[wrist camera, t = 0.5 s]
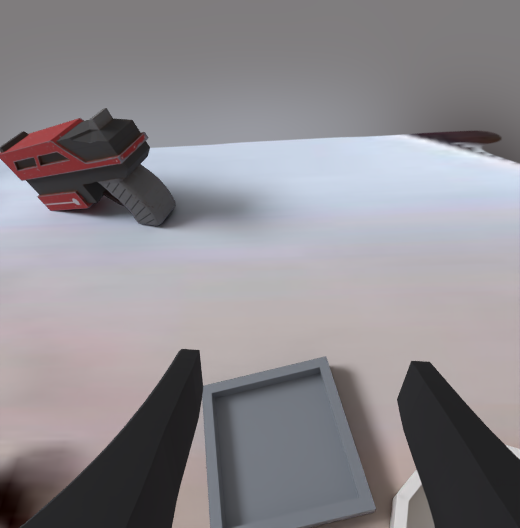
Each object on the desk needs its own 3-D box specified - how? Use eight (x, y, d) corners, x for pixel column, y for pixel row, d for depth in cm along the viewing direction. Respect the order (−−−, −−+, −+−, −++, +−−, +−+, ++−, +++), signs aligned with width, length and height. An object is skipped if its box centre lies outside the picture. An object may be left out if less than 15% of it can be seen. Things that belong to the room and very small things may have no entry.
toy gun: (169, 228, 46) (92, 122, 37) (68, 230, 59) (-9, 151, 49) (189, 202, 49) (123, 98, 40) (89, 209, 62) (20, 131, 52)
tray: (374, 512, 24) (376, 509, 23) (218, 549, 24) (211, 547, 23) (326, 365, 31) (326, 356, 30) (207, 394, 32) (201, 386, 30)
